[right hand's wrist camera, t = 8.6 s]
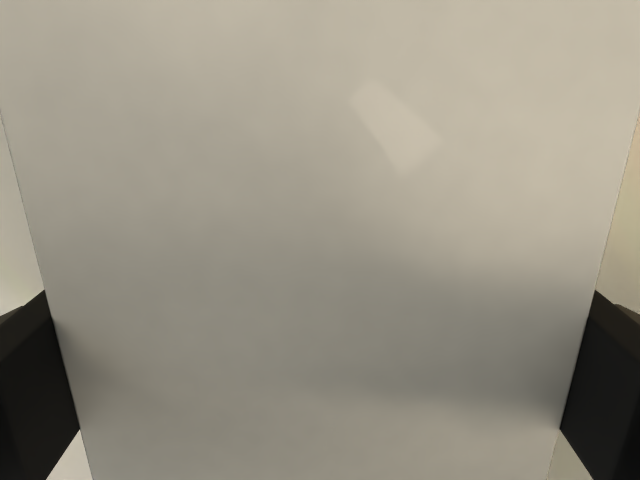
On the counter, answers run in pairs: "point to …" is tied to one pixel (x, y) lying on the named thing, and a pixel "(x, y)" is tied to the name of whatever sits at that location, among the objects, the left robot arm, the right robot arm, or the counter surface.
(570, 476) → the counter surface
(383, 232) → the cabinet
